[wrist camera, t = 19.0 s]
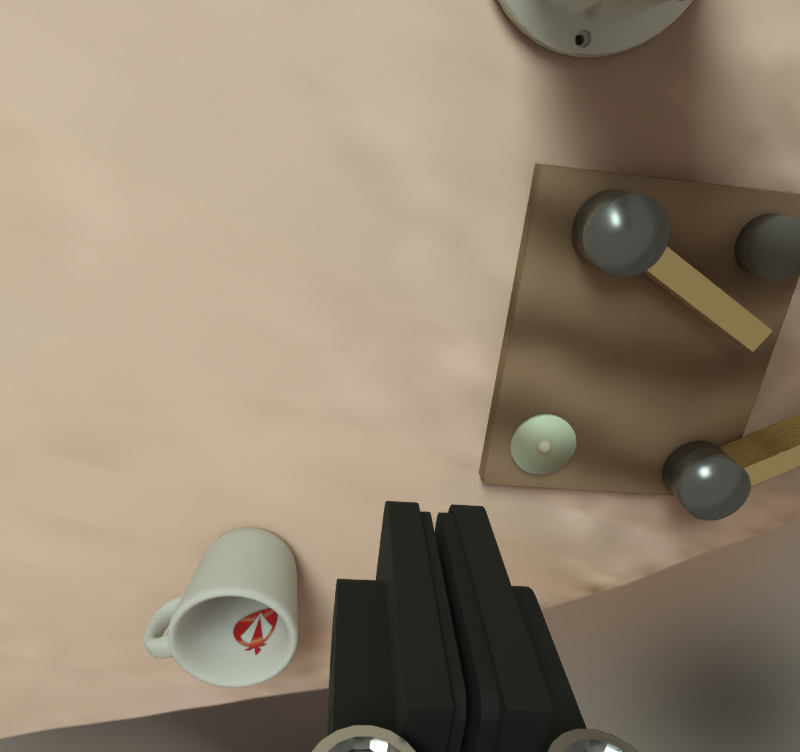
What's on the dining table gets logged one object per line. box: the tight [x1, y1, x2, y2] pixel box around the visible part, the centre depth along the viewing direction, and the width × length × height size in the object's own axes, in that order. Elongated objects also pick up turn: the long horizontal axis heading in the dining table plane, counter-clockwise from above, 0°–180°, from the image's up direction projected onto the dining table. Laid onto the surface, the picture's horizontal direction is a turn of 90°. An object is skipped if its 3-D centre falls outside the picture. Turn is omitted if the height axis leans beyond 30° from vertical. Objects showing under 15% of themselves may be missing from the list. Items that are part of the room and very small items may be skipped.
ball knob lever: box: [572, 189, 773, 352], centre depth 36 cm, size 13×4×3 cm, turn 55°
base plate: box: [479, 164, 800, 495], centre depth 39 cm, size 21×18×4 cm
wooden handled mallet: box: [663, 414, 800, 520], centre depth 41 cm, size 13×4×3 cm, turn 115°
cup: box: [143, 528, 298, 687], centre depth 42 cm, size 11×8×8 cm
